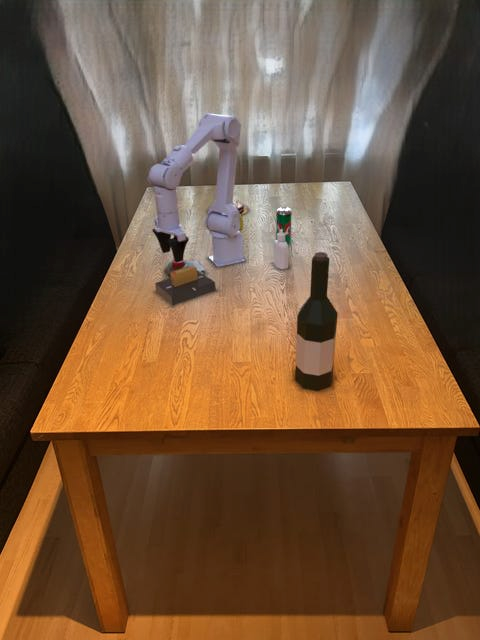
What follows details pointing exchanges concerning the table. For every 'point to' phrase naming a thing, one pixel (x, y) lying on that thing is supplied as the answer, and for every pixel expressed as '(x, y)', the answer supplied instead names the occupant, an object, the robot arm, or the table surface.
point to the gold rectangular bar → (184, 275)
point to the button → (178, 264)
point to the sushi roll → (240, 207)
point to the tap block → (185, 289)
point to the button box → (186, 264)
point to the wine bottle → (316, 331)
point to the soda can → (284, 222)
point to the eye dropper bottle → (281, 251)
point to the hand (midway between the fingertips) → (172, 256)
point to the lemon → (241, 222)
